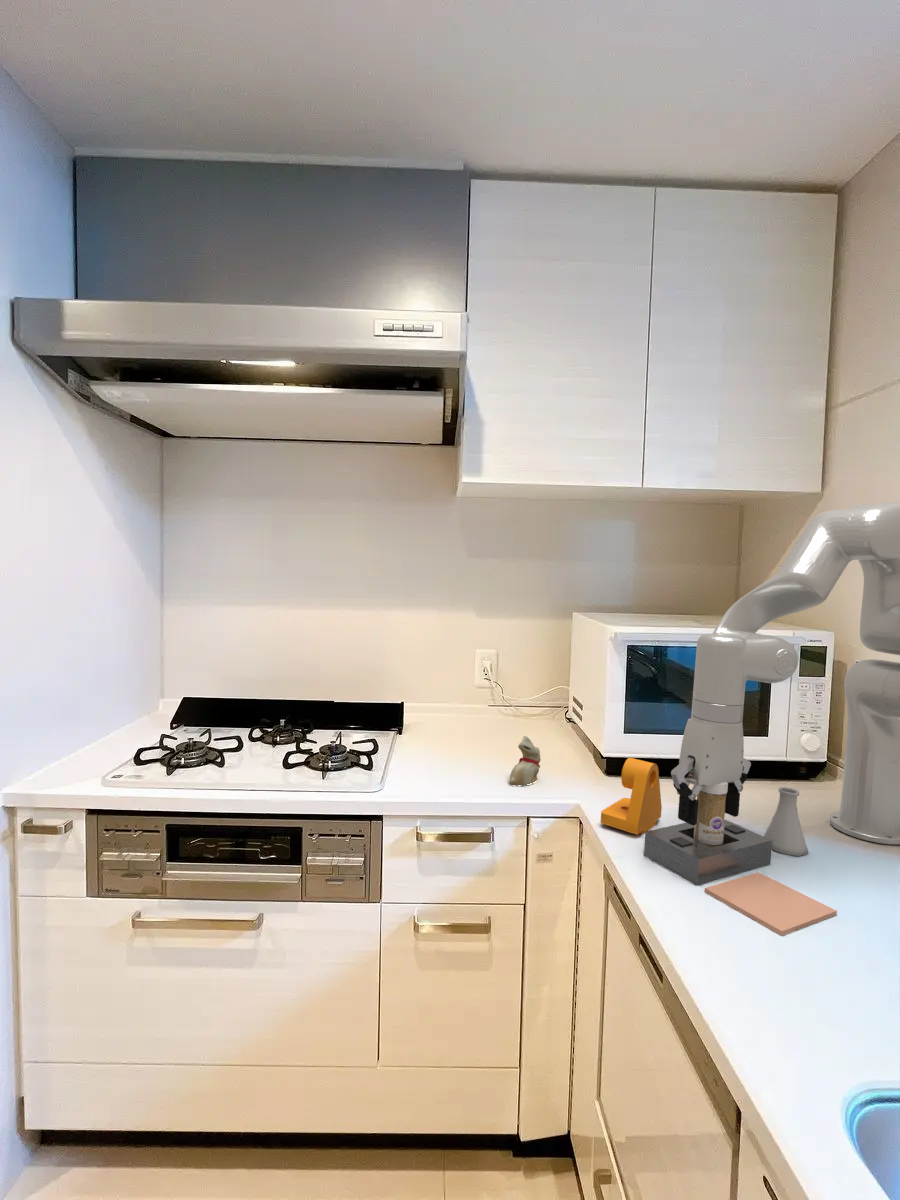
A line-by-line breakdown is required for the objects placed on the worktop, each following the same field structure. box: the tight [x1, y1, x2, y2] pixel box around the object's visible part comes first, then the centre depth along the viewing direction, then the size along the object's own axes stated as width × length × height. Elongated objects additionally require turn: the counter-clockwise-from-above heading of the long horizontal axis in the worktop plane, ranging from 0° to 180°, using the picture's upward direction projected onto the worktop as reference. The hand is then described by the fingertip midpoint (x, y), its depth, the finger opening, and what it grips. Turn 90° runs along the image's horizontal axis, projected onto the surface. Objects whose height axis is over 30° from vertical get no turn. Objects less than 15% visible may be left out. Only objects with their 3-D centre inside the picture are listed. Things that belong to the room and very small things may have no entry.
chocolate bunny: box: [509, 735, 542, 786], centre depth 137 cm, size 6×8×10 cm
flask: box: [763, 786, 809, 857], centre depth 110 cm, size 7×7×10 cm
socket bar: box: [643, 818, 772, 886], centre depth 103 cm, size 17×11×4 cm, turn 119°
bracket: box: [600, 757, 663, 836], centre depth 117 cm, size 11×7×12 cm, turn 141°
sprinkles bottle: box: [694, 778, 728, 848], centre depth 103 cm, size 5×5×13 cm
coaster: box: [704, 871, 838, 937], centre depth 91 cm, size 12×12×1 cm
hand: (708, 817), depth 103 cm, fingers open, 9 cm apart
